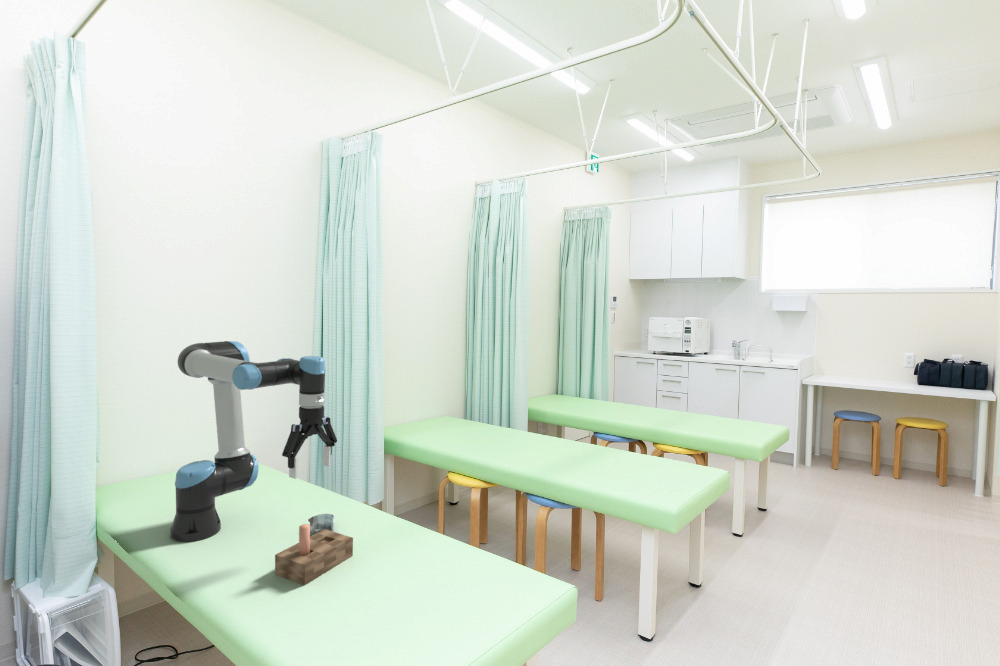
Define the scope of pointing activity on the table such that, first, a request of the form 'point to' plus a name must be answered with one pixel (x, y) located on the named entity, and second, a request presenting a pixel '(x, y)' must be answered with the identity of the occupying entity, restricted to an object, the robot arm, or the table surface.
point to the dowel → (304, 539)
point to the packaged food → (321, 523)
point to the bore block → (314, 557)
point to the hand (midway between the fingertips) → (310, 471)
